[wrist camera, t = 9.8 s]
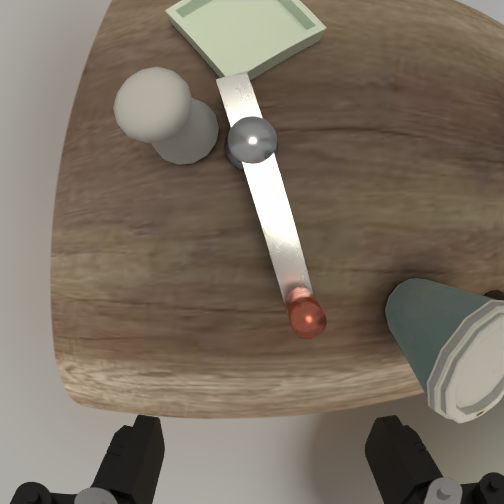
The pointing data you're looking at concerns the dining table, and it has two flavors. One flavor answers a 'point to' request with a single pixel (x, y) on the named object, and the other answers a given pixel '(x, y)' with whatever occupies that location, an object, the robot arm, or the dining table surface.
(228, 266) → the dining table surface
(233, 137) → the crank
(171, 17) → the tray
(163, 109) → the salt shaker
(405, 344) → the disposable coffee cup
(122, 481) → the robot arm
